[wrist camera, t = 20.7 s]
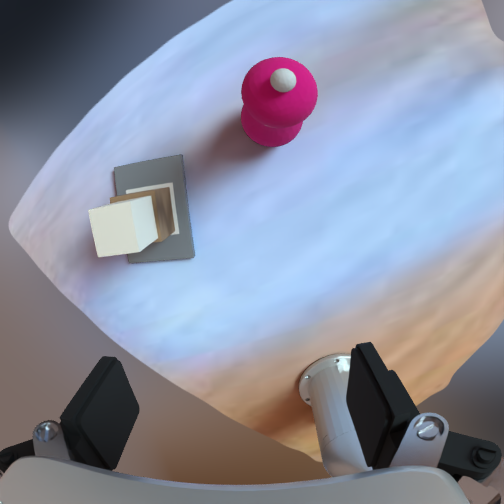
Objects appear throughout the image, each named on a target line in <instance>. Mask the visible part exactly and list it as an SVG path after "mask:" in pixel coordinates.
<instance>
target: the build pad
mask: <svg viewBox="0 0 504 504" xmlns="http://www.w3.org/2000/svg"><path fill="white" fill-rule="evenodd" d="M114 173H115V182H116V190H117V196H120V195H124V194H129V193H134V192H140V191H146V190H152V189H159V188H165V187H170V195H171V203H172V211H173V218H174V225H175V232H173V233H172V234H171V235H170V236H168V237H167V238H166V239H165V240H163V241H162V242H153V243H151V244H149V245H148V246H147V247H145V248H144V249H143V250H142V251H140V252H136V253H128V254H127V256H128V261H129V263H139V262H150V261H161V260H173V259H184V258H194V257H195V251H194V244H193V237H192V230H191V223H190V216H189V208H188V200H187V192H186V183H185V175H184V165H183V156H182V155H176V156H170V157H164V158H159V159H153V160H148V161H143V162H138V163H133V164H128V165H123V166H119V167H114Z"/></svg>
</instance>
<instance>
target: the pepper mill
mask: <svg viewBox="0 0 504 504" xmlns="http://www.w3.org/2000/svg"><path fill="white" fill-rule="evenodd" d="M241 94H242V100H243V103H244V105H243V108H242V112H241V123H242V126H243V129H244V131H245V132H246V134H247V135H248V136H249V137H250V138H251V139H252V140H253V141H254V142H256V143H258V144H260V145H263V146H268V147H277V146H282V145H284V144H287V143H288V142H290V141H292V140H293V139H294V138H295V137H296V136H297V134H298V133H299V131H300V129H301V126H302V123H303V121H304V120H305V119H306V118H307V117H308V116H309V115H310V114H311V113H312V111H313V109H314V107H315V105H316V101H317V97H318V92H317V85H316V82H315V80H314V78H313V76H312V74H311V73H310V72H309V70H308V69H307V68H306V67H305V66H303V65H302V64H300V63H299V62H297V61H295V60H292V59H289V58H284V57H274V58H269V59H265V60H263V61H261V62H259V63H257V64H256V65H254V66H253V67H252V68H251V69H250V70H249V71H248V73H247V74H246V76H245V78H244V81H243V84H242V90H241Z"/></svg>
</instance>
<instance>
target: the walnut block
mask: <svg viewBox="0 0 504 504" xmlns="http://www.w3.org/2000/svg"><path fill="white" fill-rule="evenodd" d="M145 196H151V198H152V205H153V211H154V217H155V223H156V228H157V234H158V239H156V240H155V241H154V242H162V241H163V240H165V239H166V238H167V237H168V236H170V235H171V234H172V233H173V232H175V225H174V218H173V211H172V203H171V195H170V187H165V188H159V189H152V190H146V191H140V192H134V193H129V194H124V195H120V196H116V197H111V198H110V204H111V203H115V202H120V201H125V200H130V199H135V198H140V197H145ZM152 243H153V242H152Z"/></svg>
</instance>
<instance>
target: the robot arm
mask: <svg viewBox="0 0 504 504" xmlns="http://www.w3.org/2000/svg"><path fill="white" fill-rule="evenodd" d="M299 393H300V396H301V398H302V399H303V401H304V402H305V403H307V404H308V405H310V406H312V411H313V416H314V421H315V426H316V431H317V436H318V441H319V446H320V451H321V456H322V461H323V465H324V467H325V469H326V471H327V472H328V473H329V474H330V475H331V476H332V478H325V479H318V480H310V481H302V482H293V483H281V484H265V485H212V484H194V483H183V482H174V481H165V480H158V479H151V478H145V477H139V476H133V475H128V474H123V473H119V472H114V471H112V470H113V469H115V468H116V467H117V464H118V462H119V460H120V457H121V455H122V452H123V450H124V447H125V445H126V442H127V440H128V438H129V435H130V433H131V430H132V428H133V426H134V423H135V421H136V419H137V416H138V414H139V405H138V402H137V400H136V398H135V396H134V393H133V391H132V389H131V386H130V384H129V381H128V379H127V376H126V374H125V372H124V369H123V366H122V364H121V362H120V361H118V360H117V358H116V357H107V356H104V357H102V358H101V359H100V360H99V362H98V363H97V365H96V366H95V367H94V369H93V370H92V371H91V373H90V374H89V376H88V377H87V378H86V380H85V381H84V383H83V384H82V385H81V387H80V388H79V390H78V391H77V393H76V394H75V396H74V397H73V398H72V400H71V401H70V403H69V404H68V406H67V407H66V409H65V410H64V412H63V413H62V415H61V416H60V419H61V422H60V424H59V423H58V422H56V421H54V420H47V421H44V422H41V423H40V424H38V425H37V426H36V427H35V429H34V431H33V436H32V437H33V439H32V440H28V441H25V442H23V443H20V444H17V445H14V446H11V447H8V448H5V449H3V450H2V451H1V452H0V504H470V503H469V501H468V500H467V498H468V499H470V500H471V501H473V502H472V504H504V458H503V457H501V456H502V454H501V450H500V449H499V447H498V446H497V445H496V444H495V443H493V442H490V441H486V440H482V439H478V438H474V437H469V436H466V435H462V434H458V433H454V432H451V431H449V426H448V423H447V421H446V420H445V419H444V418H443V417H442V416H440V415H438V414H435V413H423V414H420V413H419V411H418V410H417V408H416V406H415V404H414V403H413V401H412V399H411V397H410V396H409V394H408V392H407V391H406V389H405V387H404V386H403V384H402V382H401V381H400V379H399V377H398V376H397V374H396V373H395V371H393V370H389V371H388V369H387V368H386V366H385V364H384V363H383V361H382V359H381V358H380V356H379V354H378V353H377V351H376V349H375V348H374V346H373V344H372V343H371V342H367V343H361V344H357V345H356V348H353V349H352V350H351V355H350V354H334V355H330V356H327V357H324V358H322V359H320V360H318V361H316V362H314V363H313V364H312V365H310V366H309V367H308V368H307V369H306V370H305V371H304V373H303V374H302V376H301V378H300V381H299Z"/></svg>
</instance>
